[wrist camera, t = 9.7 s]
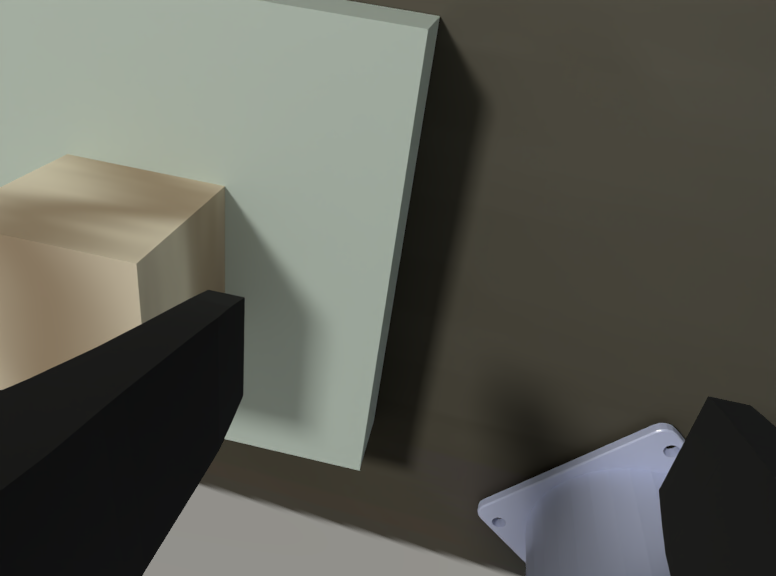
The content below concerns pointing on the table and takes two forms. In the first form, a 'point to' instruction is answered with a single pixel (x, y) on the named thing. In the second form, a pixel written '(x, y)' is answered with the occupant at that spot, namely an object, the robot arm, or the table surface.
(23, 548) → the robot arm
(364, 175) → the base board
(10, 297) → the maple block
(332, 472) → the table surface
